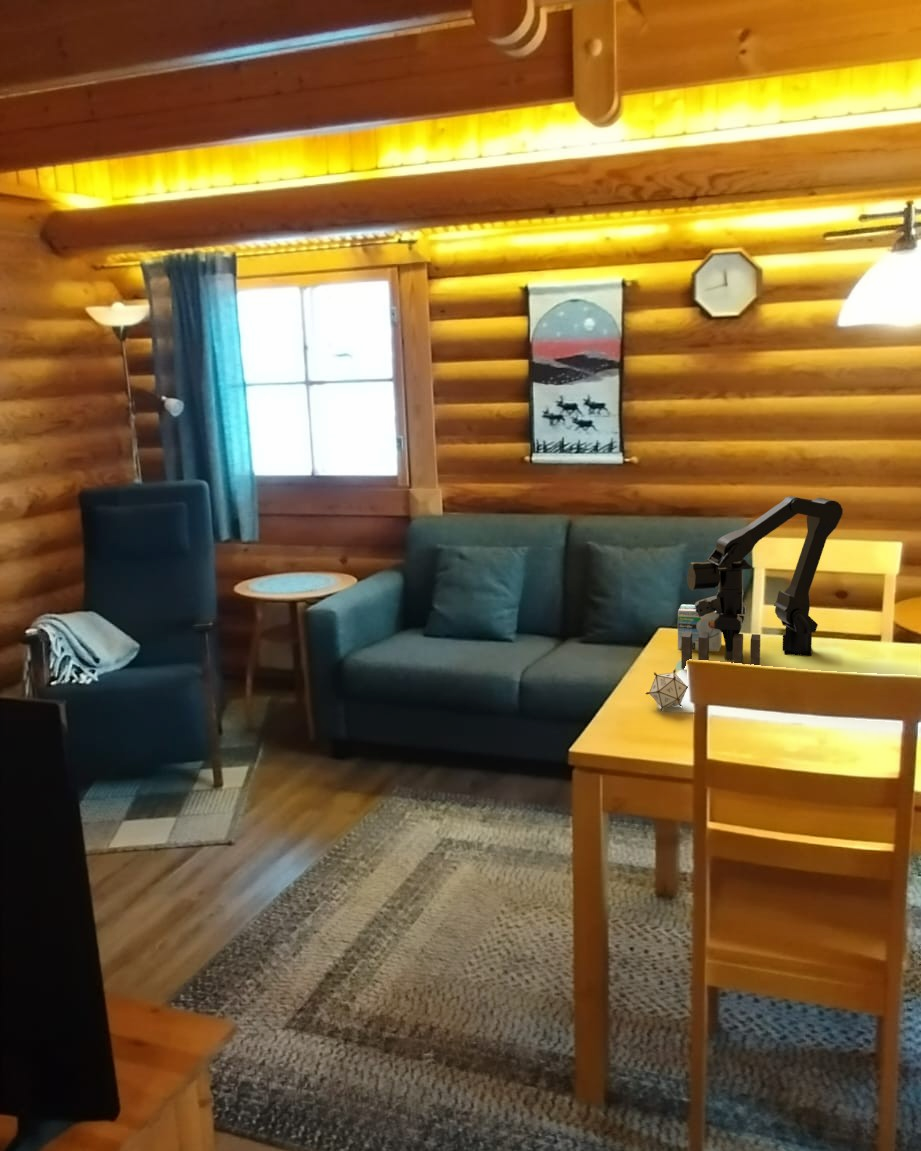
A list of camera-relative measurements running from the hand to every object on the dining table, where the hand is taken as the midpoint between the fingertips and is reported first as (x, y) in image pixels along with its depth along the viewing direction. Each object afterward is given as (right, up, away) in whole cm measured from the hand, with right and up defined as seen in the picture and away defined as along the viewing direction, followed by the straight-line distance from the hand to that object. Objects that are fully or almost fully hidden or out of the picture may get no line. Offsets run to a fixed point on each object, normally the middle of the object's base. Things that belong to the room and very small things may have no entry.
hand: (730, 648), depth 253 cm
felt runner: (-4, -4, -7) cm, 9 cm away
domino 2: (-8, -4, -6) cm, 11 cm away
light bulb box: (-5, -1, +11) cm, 12 cm away
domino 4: (0, -4, -9) cm, 10 cm away
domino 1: (-12, -4, -5) cm, 13 cm away
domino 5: (+3, -4, -10) cm, 11 cm away
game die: (-22, -11, -32) cm, 40 cm away
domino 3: (0, -3, +1) cm, 3 cm away
